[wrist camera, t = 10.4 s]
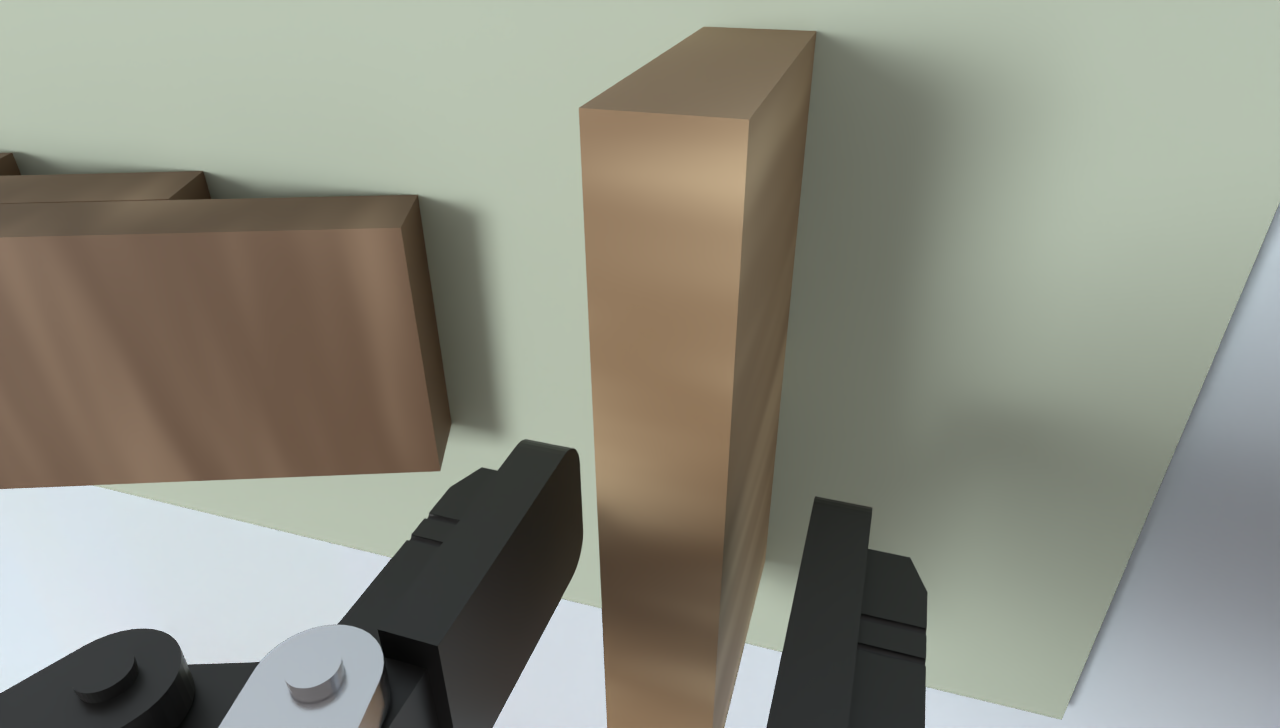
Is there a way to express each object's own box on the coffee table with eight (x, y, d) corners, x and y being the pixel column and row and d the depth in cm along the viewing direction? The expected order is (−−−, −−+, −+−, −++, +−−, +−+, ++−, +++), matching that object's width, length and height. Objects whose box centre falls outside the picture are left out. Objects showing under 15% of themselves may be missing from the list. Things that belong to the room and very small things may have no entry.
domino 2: (749, 119, 7) (708, 789, 12) (816, 30, 11) (764, 561, 16) (578, 107, 8) (609, 760, 13) (703, 26, 12) (687, 544, 17)
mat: (1478, -316, 8) (1501, -325, 8) (1059, 703, 16) (1061, 719, 16) (-394, -219, 16) (-422, -220, 15) (-39, 442, 24) (-52, 450, 24)
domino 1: (401, 227, 13) (-253, 243, 13) (440, 471, 16) (-101, 492, 15) (417, 194, 14) (-171, 207, 14) (451, 423, 17) (-44, 442, 17)
